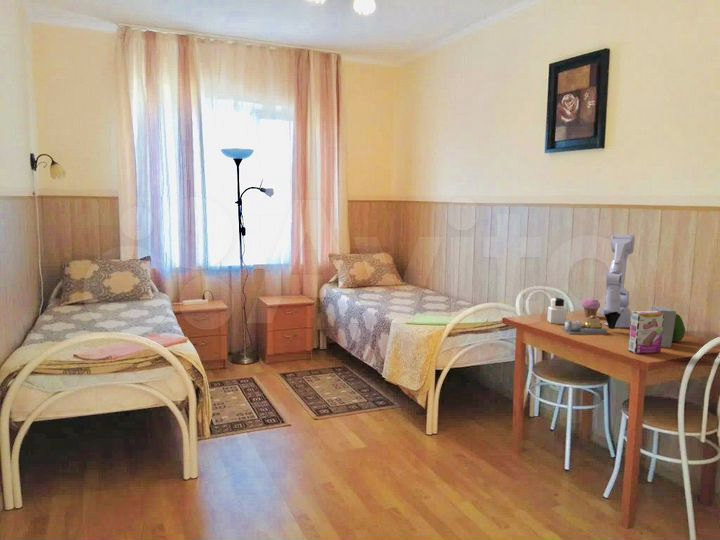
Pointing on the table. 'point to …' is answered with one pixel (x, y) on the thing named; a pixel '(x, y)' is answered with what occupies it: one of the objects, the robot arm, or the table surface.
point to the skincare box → (666, 324)
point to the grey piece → (580, 328)
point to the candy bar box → (646, 332)
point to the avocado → (678, 329)
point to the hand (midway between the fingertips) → (611, 328)
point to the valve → (593, 323)
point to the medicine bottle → (557, 311)
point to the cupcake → (590, 306)
